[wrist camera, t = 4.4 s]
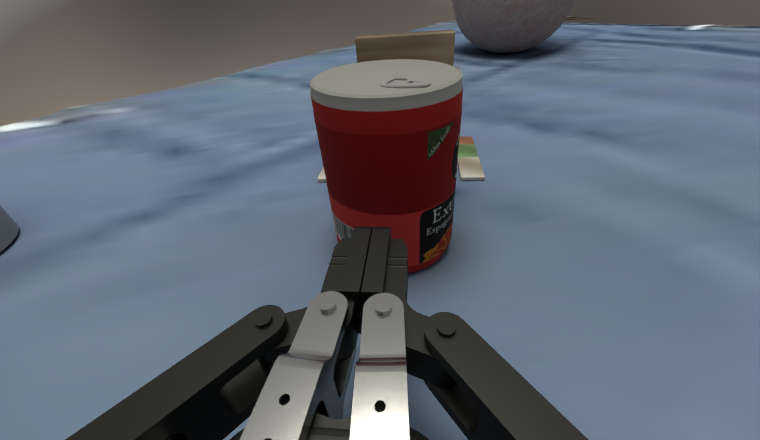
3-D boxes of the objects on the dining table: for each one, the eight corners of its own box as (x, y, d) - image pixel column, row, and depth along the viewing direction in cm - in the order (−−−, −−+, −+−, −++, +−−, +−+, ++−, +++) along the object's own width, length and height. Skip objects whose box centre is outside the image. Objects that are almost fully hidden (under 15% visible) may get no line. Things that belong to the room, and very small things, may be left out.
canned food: (449, 284, 20) (464, 95, 13) (322, 272, 22) (281, 97, 15) (452, 211, 26) (464, 56, 19) (353, 205, 28) (333, 60, 21)
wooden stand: (484, 180, 29) (499, 70, 24) (317, 181, 31) (297, 79, 26) (460, 102, 47) (465, 28, 41) (354, 106, 48) (346, 36, 43)
